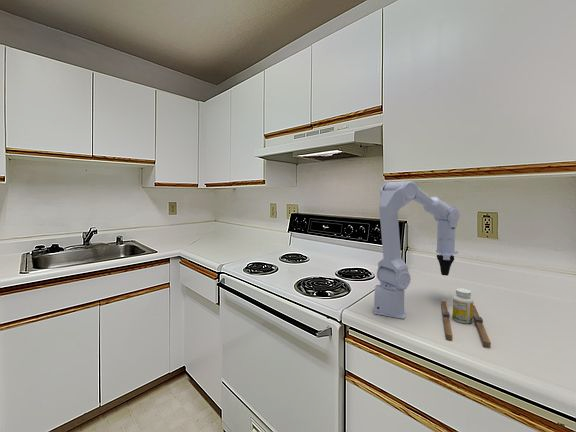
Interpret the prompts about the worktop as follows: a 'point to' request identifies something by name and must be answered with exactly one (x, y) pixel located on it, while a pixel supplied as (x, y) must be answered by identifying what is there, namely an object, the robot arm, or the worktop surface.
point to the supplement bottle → (462, 306)
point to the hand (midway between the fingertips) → (444, 274)
